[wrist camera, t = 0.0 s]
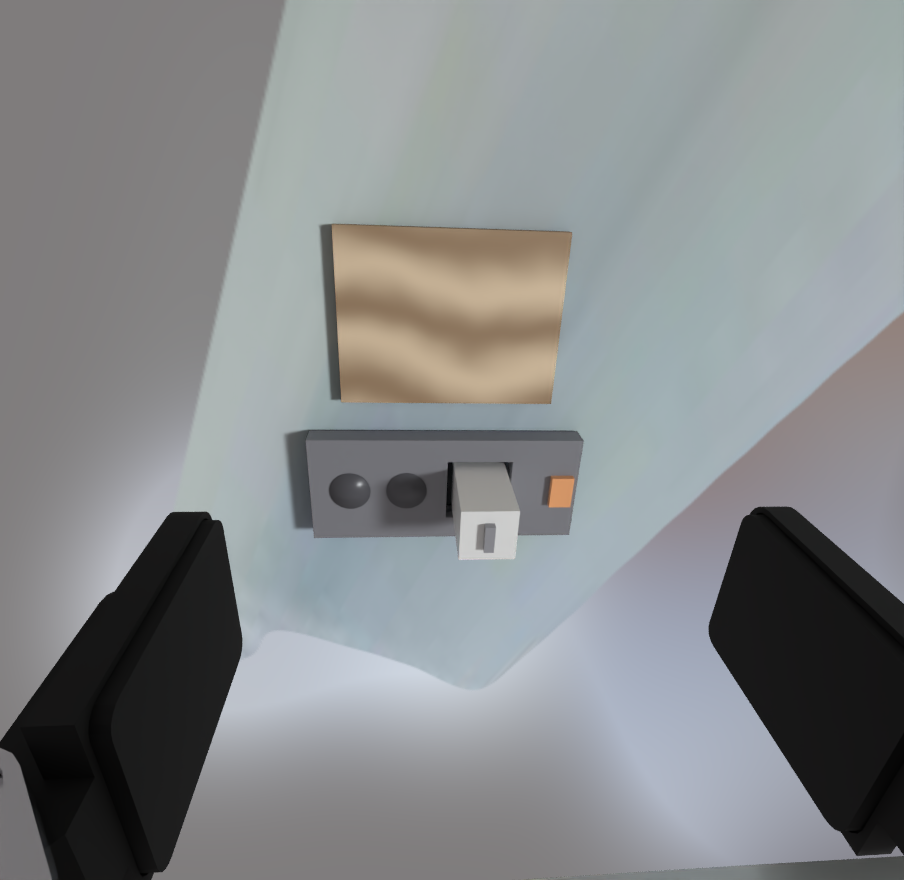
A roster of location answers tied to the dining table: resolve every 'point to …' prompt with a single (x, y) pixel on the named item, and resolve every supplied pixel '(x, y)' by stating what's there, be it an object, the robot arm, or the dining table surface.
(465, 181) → the dining table surface
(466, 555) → the block
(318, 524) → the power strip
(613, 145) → the dining table surface
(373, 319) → the wooden board
